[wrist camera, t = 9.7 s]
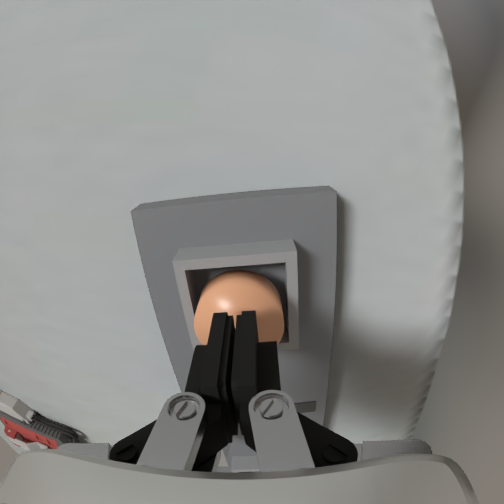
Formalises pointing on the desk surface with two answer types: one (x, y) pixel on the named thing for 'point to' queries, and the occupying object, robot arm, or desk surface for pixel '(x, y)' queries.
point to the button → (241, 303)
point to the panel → (253, 259)
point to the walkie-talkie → (31, 426)
